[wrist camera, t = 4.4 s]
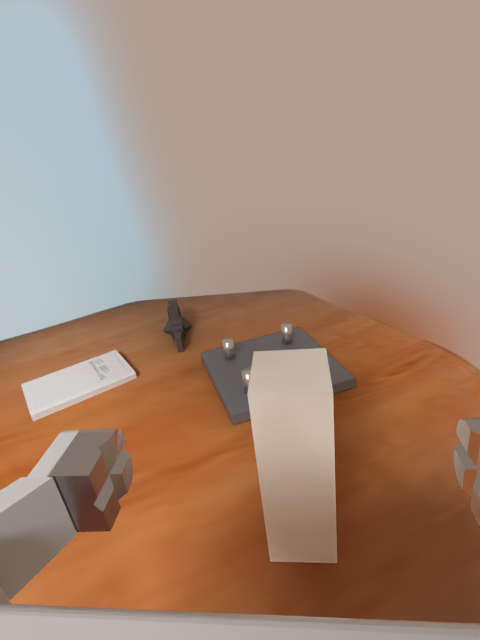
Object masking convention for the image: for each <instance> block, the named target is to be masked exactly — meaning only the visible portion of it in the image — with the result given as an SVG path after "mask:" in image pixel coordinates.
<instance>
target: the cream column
mask: <svg viewBox="0 0 480 640" xmlns="http://www.w3.org/2000/svg"><path fill="white" fill-rule="evenodd" d="M247 395H248V403H249V410H250V418H251V425H252V432H253V440H254V447H255V454H256V462H257V469H258V476H259V484H260V491H261V498H262V506H263V513H264V521H265V528H266V535H267V543H268V550H269V557H270V562H304V563H337V529H336V488H335V448H334V407H333V388H332V382H331V376H330V370H329V364H328V358H327V351H326V348H315V349H294V350H274V351H254V353H253V360H252V366H251V373H250V380H249V387H248V393H247Z"/></svg>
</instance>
